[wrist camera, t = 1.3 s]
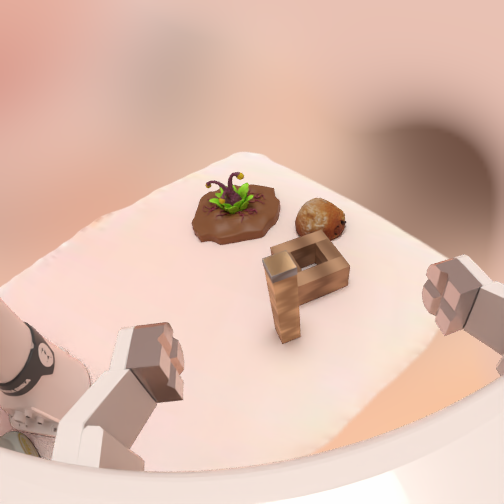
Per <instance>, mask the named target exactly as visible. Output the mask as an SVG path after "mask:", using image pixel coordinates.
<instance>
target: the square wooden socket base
mask: <svg viewBox="0 0 504 504" xmlns="http://www.w3.org/2000/svg"><path fill="white" fill-rule="evenodd" d="M270 249H271V255H274V254H277V253H279V252H282V251H285V250H287V252H288V254H289V255H290V257H291V258H292V260H293V262H294V263H295V265H296V266H297V283H298V299H299V305H302V304H304V303H307V302H309V301H312V300H314V299H316V298H319V297H321V296H324V295H326V294H329V293H331V292H333V291H336V290H338V289H340V288H343V287H345V286H347V285H348V279H349V271H350V265H349V264H348V263H347V261H346V260H345V259H344V257H343V256H342V255H341V254H340V252H339V251H338V250H337V248H336V247H335V246H334V245H333V243H332V242H331V241H330V240H329V238H328V237H327V236H326V235H325V233H324V232H323V231H322V230H319V231H316V232H313V233H310V234H307V235H304V236H302V237H299V238H296V239H293V240H290V241H287V242H285V243H282V244H279V245H276V246H273V247H270ZM313 263H316V264H317V266H314V267H311V268H309V269H306V270H304V271H302V270H301V268H303V267H305V266H308V265H311V264H313Z"/></svg>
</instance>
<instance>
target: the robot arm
mask: <svg viewBox="0 0 504 504" xmlns="http://www.w3.org/2000/svg"><path fill="white" fill-rule="evenodd" d="M426 276H427V278H428V280H427V282H426V283H425V284H424V286H423V291H422V299H423V303H424V306H425V308H426V309H427V311H428V312H429V313H431V314H433V315H435V316H436V318H435V322H436V324H437V325H438V327H439V328H440V330H441V331H442V332H443V334H444V336H445V335H448V334H451V333H454V332H456V331H458V330H461V329H464V331H466V332H468V333H469V334H471V335H472V336H474V337H475V338H477V339H478V340H480V341H481V342H483V343H484V344H486V345H487V346H489V347H490V348H492V349H493V350H495V351H496V352H498V353H499V354H500V355H502V356H503V357H502V358H501V360H500V361H499V363H498V364H497V367H496V369H497V371H498V373H499V374H500V377H499V378H497V379H496V380H494V381H492V382H491V383H489V384H487V385H486V386H484V387H483V388H481V389H479V390H477V391H475V392H474V393H472V394H470V395H469V396H466V397H465V398H463V399H461V400H459V401H457V402H455V403H453V404H451V405H449V406H447V407H445V408H443V409H441V410H439V411H437V412H435V413H432V414H430V415H428V416H426V417H424V418H421V419H419V420H417V421H414V422H412V423H410V424H407V425H405V426H403V427H400V428H397V429H394V430H392V431H389V432H386V433H384V434H381V435H378V436H375V437H372V438H370V439H366V440H363V441H360V442H357V443H354V444H350V445H347V446H344V447H340V448H336V449H333V450H329V451H325V452H321V453H317V454H313V455H309V456H304V457H300V458H295V459H290V460H285V461H279V462H273V463H267V464H261V465H254V466H247V467H238V468H229V469H218V470H204V471H178V472H157V471H144V460H143V459H142V458H141V457H140V456H138V455H137V454H135V453H134V452H133V451H131V450H130V448H131V446H132V444H133V443H134V441H135V440H136V438H137V436H138V435H139V433H140V431H141V430H142V428H143V427H144V425H145V423H146V422H147V420H148V419H149V417H150V415H151V414H152V412H153V410H154V409H155V407H156V406H157V403H160V402H170V401H179V400H183V385H184V381H183V380H182V378H181V376H180V374H181V373H182V372H183V370H184V357H183V351H182V348H181V345H180V343H179V341H178V340H177V339H175V338H173V329H172V327H171V326H170V324H169V323H167V322H164V323H156V324H147V325H139V326H134V327H124V328H121V329H120V330H119V332H118V335H117V339H116V343H115V347H114V351H113V355H112V359H111V363H110V368H109V371H104V372H103V373H102V375H101V376H100V377H99V378H98V379H97V380H96V381H95V382H94V383H93V384H92V386H91V387H90V380H89V375H88V372H87V370H86V368H85V366H84V365H83V364H82V363H81V362H80V361H79V360H77V359H75V358H73V357H71V356H70V355H69V353H68V352H67V351H66V349H64V348H63V347H57V346H56V345H54V344H53V343H51V342H50V341H49V340H47V339H46V338H45V337H43V336H42V335H40V334H39V333H38V332H37V331H36V329H35V328H33V327H32V326H30V325H29V324H28V323H26V322H23V321H22V320H21V319H20V318H19V317H18V316H17V315H16V314H15V313H14V312H13V311H12V310H11V309H10V308H9V307H8V306H7V305H6V303H5V302H4V301H3V300H2V299H1V298H0V406H1V408H2V409H3V410H4V411H5V412H7V413H8V415H9V420H10V423H11V425H12V427H13V428H14V429H16V430H19V431H23V432H28V433H33V434H39V435H45V436H51V437H56V439H55V444H54V449H53V454H52V459H51V460H49V459H44V458H40V457H35V456H31V455H27V454H23V453H20V452H16V451H13V450H9V449H6V448H3V447H0V504H504V284H502V283H500V282H497V281H495V282H493V281H492V280H491V279H490V278H489V277H488V276H487V275H486V274H485V273H484V272H483V270H482V269H481V268H479V266H478V265H477V264H476V263H475V262H474V261H473V260H472V259H471V258H470V257H468V256H467V255H464V254H463V255H460V256H457V257H454V258H451V259H448V260H445V261H441V262H438V263H435V264H431V265H430V266H429V267H428V269H427V273H426ZM56 429H57V431H56Z"/></svg>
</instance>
